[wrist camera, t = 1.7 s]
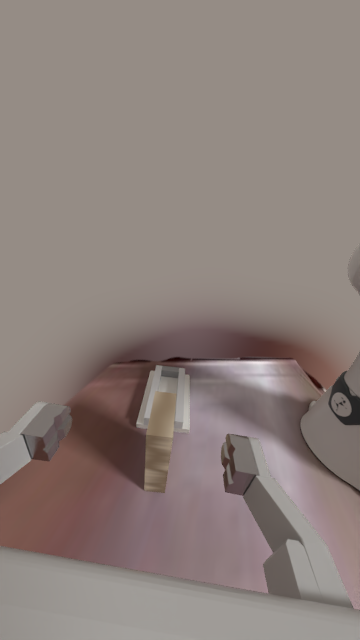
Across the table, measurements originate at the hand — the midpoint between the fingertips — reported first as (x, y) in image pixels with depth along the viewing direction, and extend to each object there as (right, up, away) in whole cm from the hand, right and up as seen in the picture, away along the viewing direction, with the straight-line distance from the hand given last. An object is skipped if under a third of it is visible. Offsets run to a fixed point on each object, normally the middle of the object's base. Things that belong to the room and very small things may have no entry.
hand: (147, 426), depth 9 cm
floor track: (-1, -12, +32) cm, 34 cm away
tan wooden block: (-2, -18, +20) cm, 27 cm away
